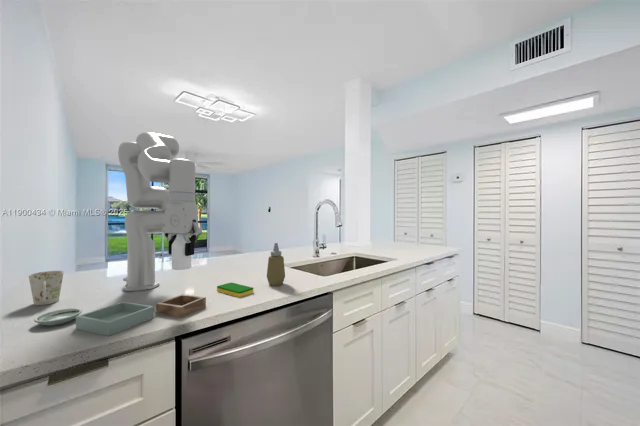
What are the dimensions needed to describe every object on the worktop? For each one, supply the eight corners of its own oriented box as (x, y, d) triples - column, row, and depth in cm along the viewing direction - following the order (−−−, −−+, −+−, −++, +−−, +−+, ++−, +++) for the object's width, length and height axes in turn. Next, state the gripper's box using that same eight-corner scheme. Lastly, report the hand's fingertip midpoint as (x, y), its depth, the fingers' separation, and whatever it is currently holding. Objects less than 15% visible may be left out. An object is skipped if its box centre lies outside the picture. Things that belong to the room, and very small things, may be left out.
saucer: (25, 332, 70) (25, 323, 70) (45, 319, 78) (45, 310, 78) (73, 326, 73) (73, 317, 73) (87, 314, 82) (87, 306, 82)
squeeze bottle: (283, 287, 112) (284, 244, 112) (264, 286, 112) (264, 244, 112) (286, 282, 120) (286, 242, 120) (268, 281, 121) (268, 241, 120)
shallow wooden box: (156, 313, 83) (156, 303, 83) (182, 302, 92) (182, 294, 92) (181, 317, 80) (181, 307, 80) (205, 306, 89) (205, 297, 89)
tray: (75, 328, 72) (75, 316, 72) (123, 312, 84) (123, 301, 84) (108, 335, 68) (108, 322, 68) (153, 317, 79) (153, 306, 79)
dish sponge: (239, 298, 99) (239, 292, 99) (216, 292, 106) (216, 285, 106) (253, 293, 104) (254, 287, 104) (231, 287, 112) (231, 282, 112)
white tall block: (195, 230, 88) (181, 232, 82) (195, 267, 88) (181, 271, 83) (181, 230, 90) (167, 231, 84) (181, 265, 90) (166, 269, 85)
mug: (63, 296, 98) (63, 269, 98) (63, 305, 89) (63, 275, 89) (29, 302, 92) (29, 273, 92) (26, 312, 83) (26, 279, 83)
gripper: (151, 197, 85) (150, 254, 85) (194, 198, 80) (193, 258, 80) (171, 198, 92) (170, 250, 92) (212, 199, 87) (211, 254, 87)
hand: (181, 253), depth 86 cm, fingers closed on white tall block, 6 cm apart
